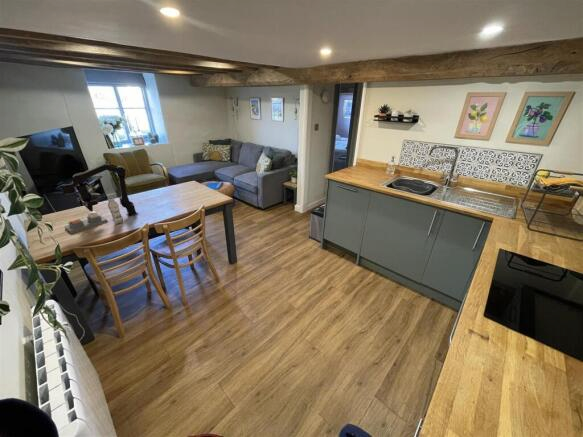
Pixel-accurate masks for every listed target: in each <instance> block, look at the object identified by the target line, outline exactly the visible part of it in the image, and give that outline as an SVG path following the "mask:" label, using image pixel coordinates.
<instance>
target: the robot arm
mask: <svg viewBox="0 0 583 437" xmlns="http://www.w3.org/2000/svg"><path fill="white" fill-rule="evenodd" d="M105 171H110V172H112V173H116V175H117V178H118V182H119V187H120V188H119V189H120V193H121V196H119V197H118V199H119V203H120V205H121V207H123V208H125V210H126V212H127V213H126V216H128V217H133V216H136V215H138V214H139V213H138V212H137V211H136V206H135V205H134V202H132V201H130V199H129V196H128V192H127V185H126V168H125V167H124V166H123V165H116V164H111V163H106V162H105V163H103V164H100V165H99V166H96V167H94V168H92V169H89V170H87V171H84V172H83V171H82V172H78V173H74V174H73V176H72V182H71V183H68V184H61V185H60V187H61V189H62V194H63V195H65V196H66V195H72V194H76V192H78V193H77V195H78V196H77V198H76V200H77V201H78V202H79V203H80V202H81V205H83V206H84V207H85V208H86V209H87V210H88V211H89V212H92V211H94V210H93V209H94V208H93V207H94V206H96V205H98V204H99V202H98V201H97V200H95V199H99V200H100V199H101V196H102V195H101V193H98V192H96V191H94V190H93V191H91V192H90V190H89V188H88V186H90V182H87V180H89V178H91V177H93V176H96V175H98V174H100V173H103V172H105Z"/></svg>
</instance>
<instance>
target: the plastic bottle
mask: <svg viewBox="0 0 583 437" xmlns="http://www.w3.org/2000/svg"><path fill="white" fill-rule="evenodd" d="M107 202H108V203H107V208H108V209H109V211H110V213H111V218H112V222H113V223H114V224H115V225H118V224H122V223H123V222H124V218H123V216H122V214H121V210H120V207H119V203H118V202H116V201H115V198H114V197H108V198H107Z"/></svg>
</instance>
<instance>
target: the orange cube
mask: <svg viewBox="0 0 583 437" xmlns="http://www.w3.org/2000/svg"><path fill="white" fill-rule="evenodd" d="M80 220H81V219H80V218H78V217H75V218H71V219H69V222H71V224H75V223H78V222H80Z"/></svg>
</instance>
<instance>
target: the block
mask: <svg viewBox="0 0 583 437" xmlns="http://www.w3.org/2000/svg"><path fill="white" fill-rule="evenodd" d="M86 218H87V219H83V220H82V219H80V222H78V223H75V224H71V222H70V221H69V222H68V225H67V224H66V225H65V226H64V229H65V230H67V231H68V232H69V233H70V234H75V233H78V232H81V231H83V230H87V229H90V228H93V227H96V226H98V225H99V226H100V225H102V224H104V223H108V222H109V221H108V219H107V218H105V216H104V217H103V216H102V215H100V214H98V217H94V218H90V217H89V216H88V215H87V216H86Z"/></svg>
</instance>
